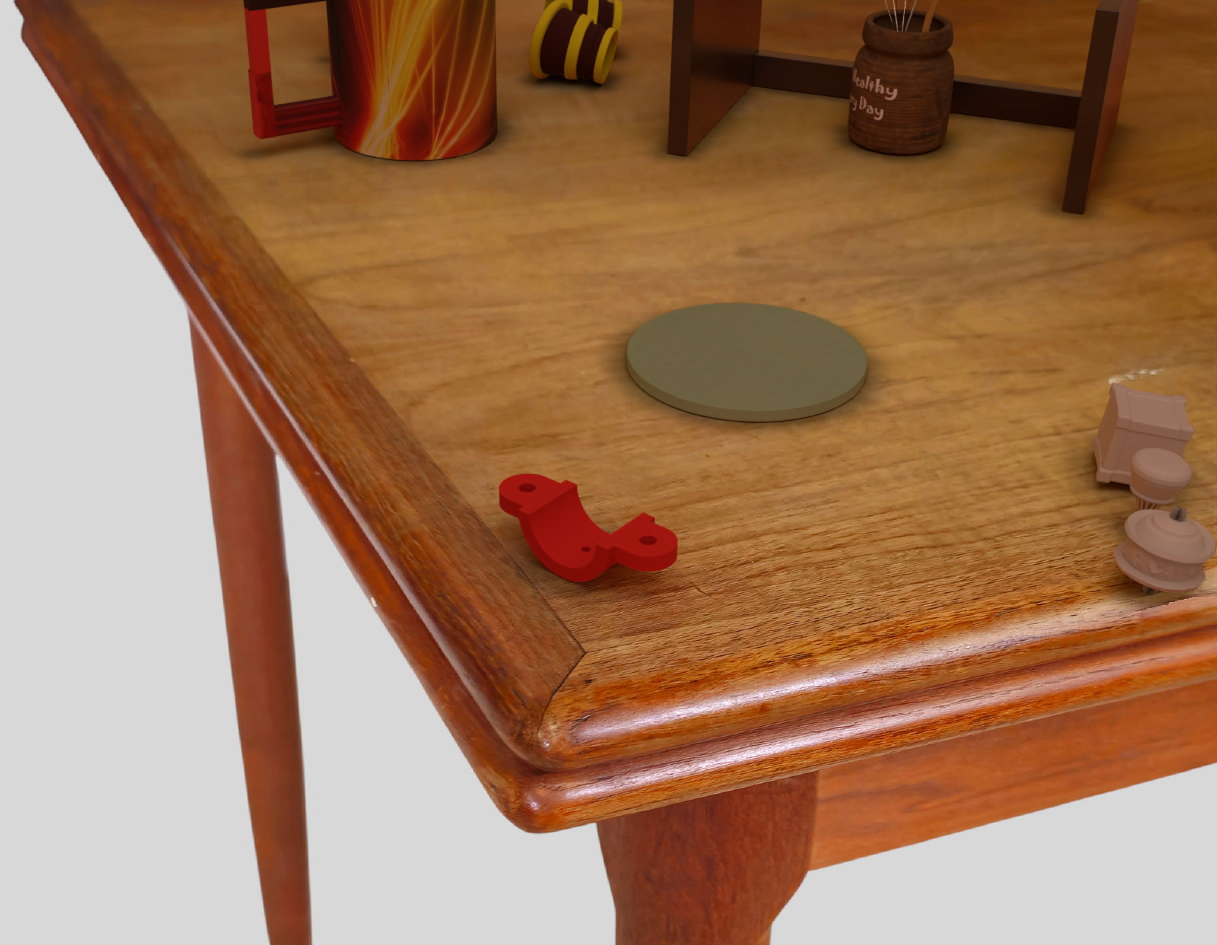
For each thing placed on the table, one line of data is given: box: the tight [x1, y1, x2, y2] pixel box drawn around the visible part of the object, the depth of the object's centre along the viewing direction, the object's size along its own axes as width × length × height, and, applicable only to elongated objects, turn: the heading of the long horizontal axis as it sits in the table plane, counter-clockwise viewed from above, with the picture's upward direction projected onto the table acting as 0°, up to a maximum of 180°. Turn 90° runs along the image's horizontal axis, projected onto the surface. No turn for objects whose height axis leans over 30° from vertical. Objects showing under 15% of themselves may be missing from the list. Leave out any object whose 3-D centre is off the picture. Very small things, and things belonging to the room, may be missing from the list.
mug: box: [243, 0, 498, 161], centre depth 103 cm, size 10×14×12 cm
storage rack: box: [666, 0, 1140, 215], centre depth 105 cm, size 15×24×11 cm, turn 70°
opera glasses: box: [528, 0, 623, 85], centre depth 117 cm, size 10×5×5 cm, turn 176°
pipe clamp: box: [498, 472, 679, 583], centre depth 68 cm, size 8×3×2 cm, turn 51°
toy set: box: [1090, 382, 1217, 595], centre depth 71 cm, size 12×3×4 cm, turn 172°
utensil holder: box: [847, 0, 955, 155], centre depth 105 cm, size 6×6×12 cm
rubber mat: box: [625, 302, 868, 423], centre depth 83 cm, size 11×11×1 cm
